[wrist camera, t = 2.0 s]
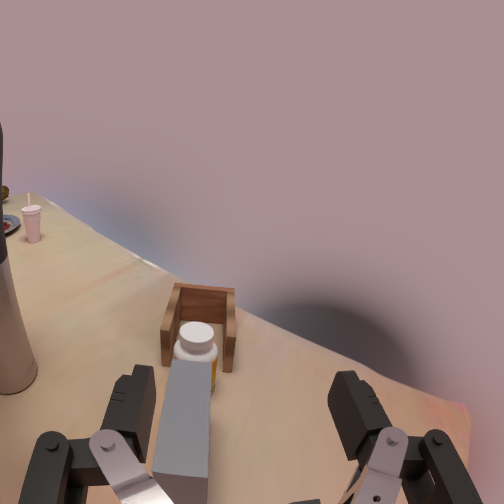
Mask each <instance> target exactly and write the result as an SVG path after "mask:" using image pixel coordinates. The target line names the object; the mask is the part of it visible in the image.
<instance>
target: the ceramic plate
mask: <svg viewBox="0 0 504 504" xmlns="http://www.w3.org/2000/svg"><path fill="white" fill-rule="evenodd" d="M3 221H4V231H5V233H7V232H9V231H11V230H13V229H14V228H16V227H17V226H18V225H19V224H20V219H19V218H18V217H16V216H13V215H3Z"/></svg>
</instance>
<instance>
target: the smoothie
mask: <svg viewBox="0 0 504 504" xmlns="http://www.w3.org/2000/svg"><path fill="white" fill-rule="evenodd" d="M41 210H42V209H41V206H38V205H32V206H30V193H28V206H27V207H24V208H22V209H21V213H22V214H23V219H24V224H25V229H26V233H27V238H28V242H29V243H37V242H39V241H40V212H41Z"/></svg>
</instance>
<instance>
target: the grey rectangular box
mask: <svg viewBox="0 0 504 504" xmlns="http://www.w3.org/2000/svg"><path fill="white" fill-rule="evenodd" d="M211 375H212V363H207V362H197V361H187V360H178V359H172V362H171V367H170V372H169V377H168V382H167V387H166V393H165V398H164V403H163V408H162V414H161V420H160V425H159V431H158V437H157V443H156V449H155V455H154V462H153V468H152V473H153V477H154V479H155V481H156V482H157V483H158V484H159V486H160V487H161V488H162V489H163V491H164V492H165V493H166V494H167V496H168V497H169V498H170V499H171V501H172V502H173V503H174V504H206V502H207V485H208V454H209V422H210V397H211Z"/></svg>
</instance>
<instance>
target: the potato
mask: <svg viewBox="0 0 504 504" xmlns="http://www.w3.org/2000/svg"><path fill="white" fill-rule="evenodd" d="M8 194H9V189H8V188H7V187H6V186H2V201H3V200H4V199H6V198H7V197H8Z"/></svg>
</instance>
